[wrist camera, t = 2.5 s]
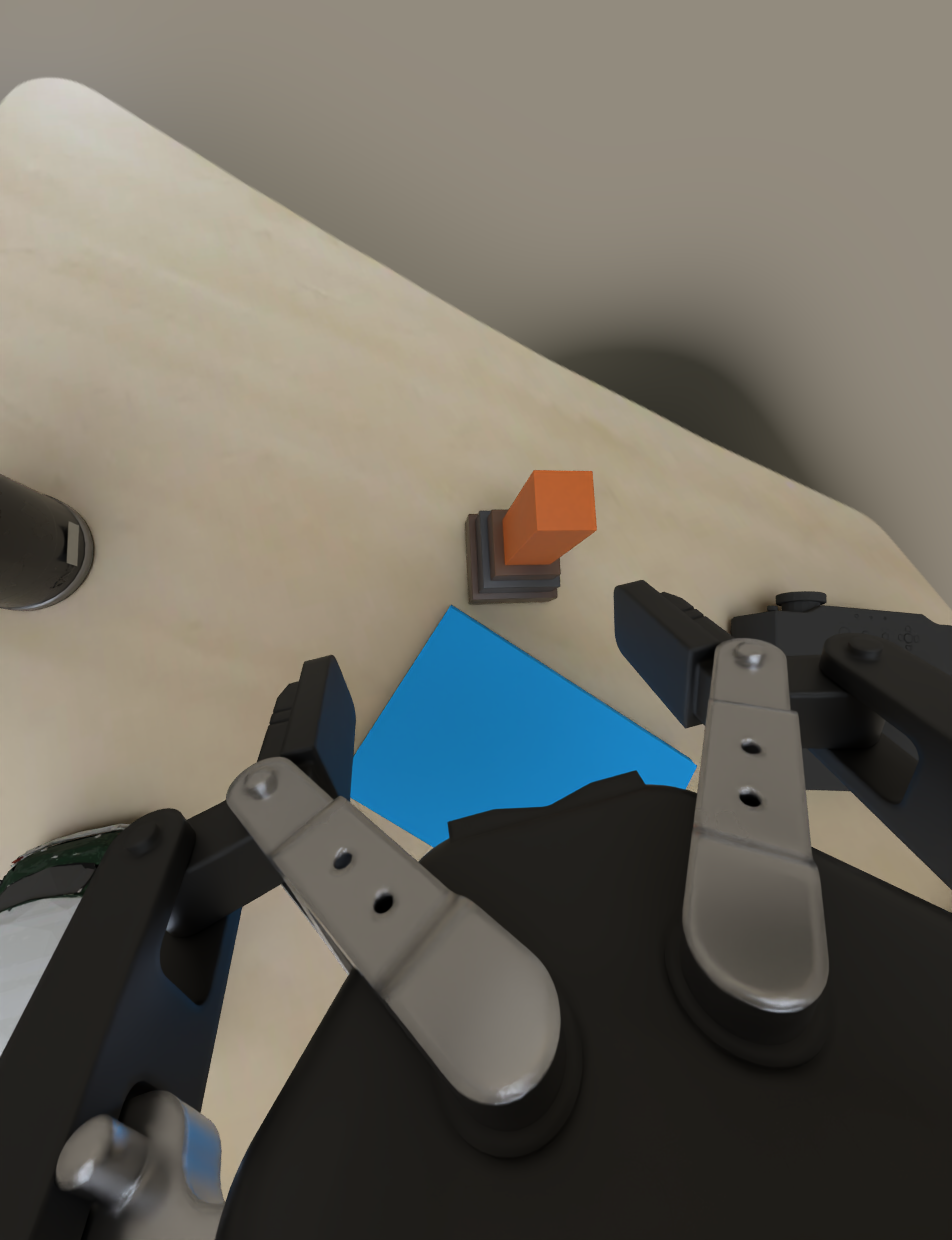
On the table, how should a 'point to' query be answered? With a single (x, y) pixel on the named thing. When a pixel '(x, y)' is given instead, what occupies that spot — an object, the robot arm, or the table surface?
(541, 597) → the brown stepped pyramid
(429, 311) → the table surface
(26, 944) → the miniature car
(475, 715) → the book
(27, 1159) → the robot arm
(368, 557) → the table surface
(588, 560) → the table surface
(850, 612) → the projector
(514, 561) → the bar
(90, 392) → the table surface
